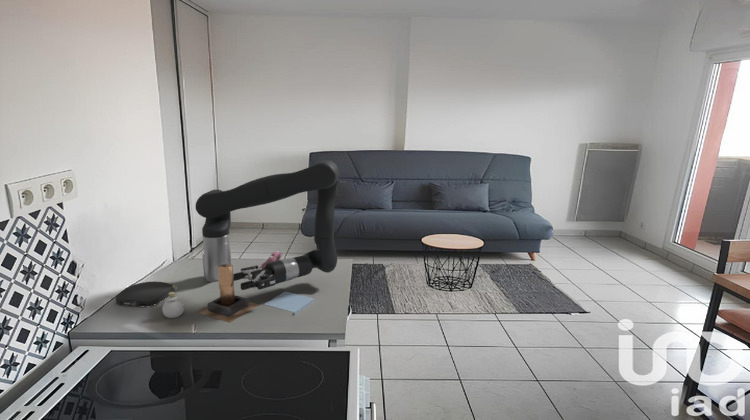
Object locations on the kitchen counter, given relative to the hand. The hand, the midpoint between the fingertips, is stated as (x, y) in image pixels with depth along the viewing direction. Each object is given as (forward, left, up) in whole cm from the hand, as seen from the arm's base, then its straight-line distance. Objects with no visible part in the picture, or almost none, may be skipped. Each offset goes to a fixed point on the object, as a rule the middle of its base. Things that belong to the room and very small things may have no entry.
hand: (235, 282), depth 137 cm
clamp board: (-1, -3, -9) cm, 9 cm away
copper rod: (-1, -3, -8) cm, 9 cm away
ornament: (-13, -13, -9) cm, 21 cm away
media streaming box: (-33, -8, -10) cm, 35 cm away
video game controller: (-14, +35, -9) cm, 39 cm away
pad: (+13, +10, -9) cm, 19 cm away
